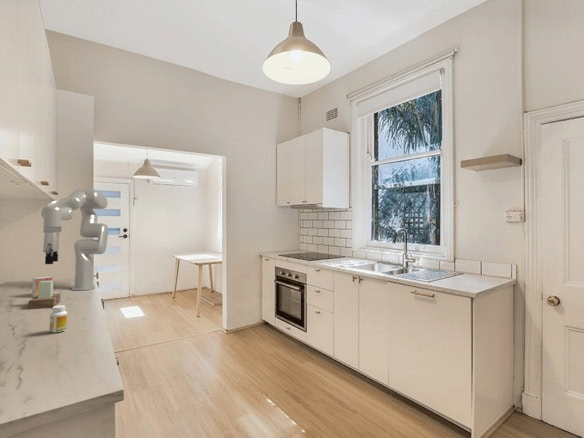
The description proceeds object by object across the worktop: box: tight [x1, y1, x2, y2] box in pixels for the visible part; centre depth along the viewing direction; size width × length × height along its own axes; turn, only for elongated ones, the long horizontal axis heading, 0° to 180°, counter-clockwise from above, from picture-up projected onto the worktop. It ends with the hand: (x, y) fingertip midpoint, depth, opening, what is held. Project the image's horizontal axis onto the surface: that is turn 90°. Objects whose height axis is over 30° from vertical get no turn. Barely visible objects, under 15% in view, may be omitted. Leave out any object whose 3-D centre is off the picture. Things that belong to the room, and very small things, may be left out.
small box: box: [31, 275, 53, 298], centre depth 181 cm, size 8×6×10 cm
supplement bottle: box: [48, 304, 68, 333], centre depth 124 cm, size 5×5×10 cm
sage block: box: [38, 279, 54, 299], centre depth 162 cm, size 5×5×8 cm
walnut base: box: [27, 293, 61, 310], centre depth 162 cm, size 14×10×4 cm
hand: (51, 262), depth 165 cm, fingers open, 9 cm apart
